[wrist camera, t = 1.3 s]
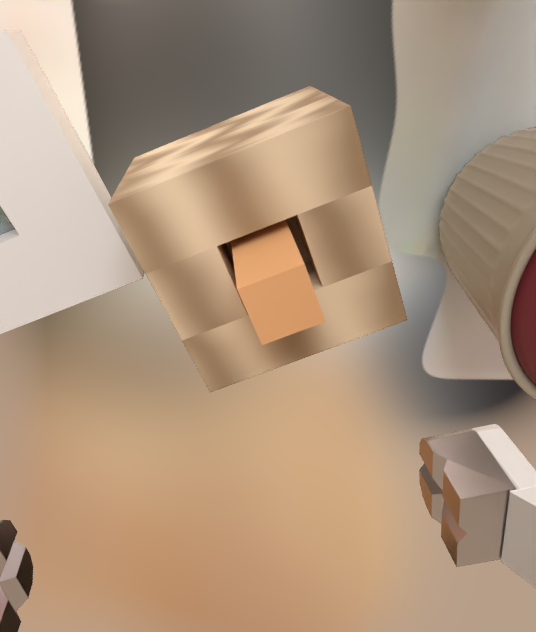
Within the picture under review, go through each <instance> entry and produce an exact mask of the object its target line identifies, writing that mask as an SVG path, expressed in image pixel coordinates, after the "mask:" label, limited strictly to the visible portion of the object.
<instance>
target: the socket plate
mask: <svg viewBox="0 0 536 632" xmlns="http://www.w3.org/2000/svg"><path fill="white" fill-rule="evenodd" d="M110 200H111V196H110V195H109V193H108V191H107V189H106V187H105V185H104V183H103V181H102V179H101V178H100V176H99V174H98V172H97V170H96V168H95V166H94V165H93V163H92V161H91V159H90V157H89V155H88V153H87V152H86V150H85V148H84V146H83V144H82V142H81V140H80V138H79V137H78V135H77V133H76V131H75V129H74V127H73V125H72V124H71V122H70V120H69V118H68V116H67V114H66V112H65V111H64V109H63V107H62V105H61V103H60V101H59V99H58V98H57V96H56V94H55V92H54V90H53V88H52V86H51V84H50V83H49V81H48V79H47V77H46V75H45V73H44V71H43V70H42V68H41V66H40V64H39V62H38V60H37V58H36V57H35V55H34V53H33V51H32V49H31V47H30V45H29V44H28V42H27V40H26V38H25V36H24V34H23V32H22V30H4V31H2V32H0V206H1V208H2V209H3V211H4V212H5V214H6V215H7V217H8V218H9V220H10V221H11V223H12V224H13V226H14V227H15V229H14V230H11V231H9V232H6V233H4V234H1V235H0V334H2V333H5V332H7V331H9V330H12V329H15V328H17V327H20V326H23V325H25V324H27V323H30V322H33V321H35V320H38V319H40V318H43V317H45V316H48V315H50V314H53V313H56V312H58V311H61V310H63V309H66V308H69V307H71V306H74V305H76V304H79V303H81V302H84V301H86V300H89V299H92V298H94V297H97V296H99V295H102V294H104V293H107V292H110V291H112V290H114V289H117V288H120V287H122V286H125V285H127V284H130V283H133V282H135V281H138V280H140V279H143V276H144V270H143V268H142V266H141V264H140V263H139V261H138V259H137V257H136V255H135V253H134V251H133V250H132V248H131V246H130V244H129V242H128V240H127V239H126V237H125V235H124V233H123V231H122V229H121V228H120V226H119V224H118V222H117V220H116V218H115V217H114V215H113V213H112V211H111V209H110V207H109V206H108V203H109V201H110Z"/></svg>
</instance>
